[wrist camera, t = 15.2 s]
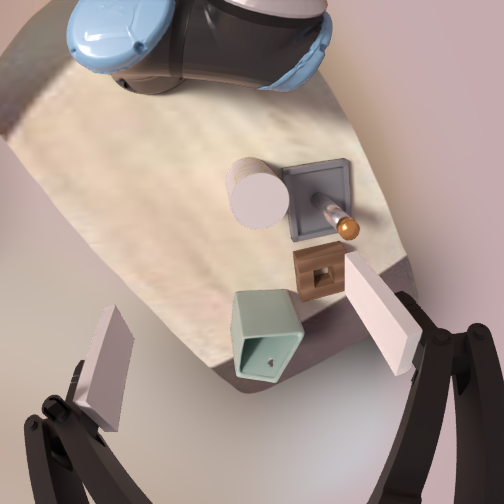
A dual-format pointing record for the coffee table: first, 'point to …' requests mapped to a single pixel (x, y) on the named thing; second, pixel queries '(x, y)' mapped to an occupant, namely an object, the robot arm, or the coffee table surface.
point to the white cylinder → (256, 194)
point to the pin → (335, 216)
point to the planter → (264, 333)
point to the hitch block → (317, 259)
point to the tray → (308, 183)
